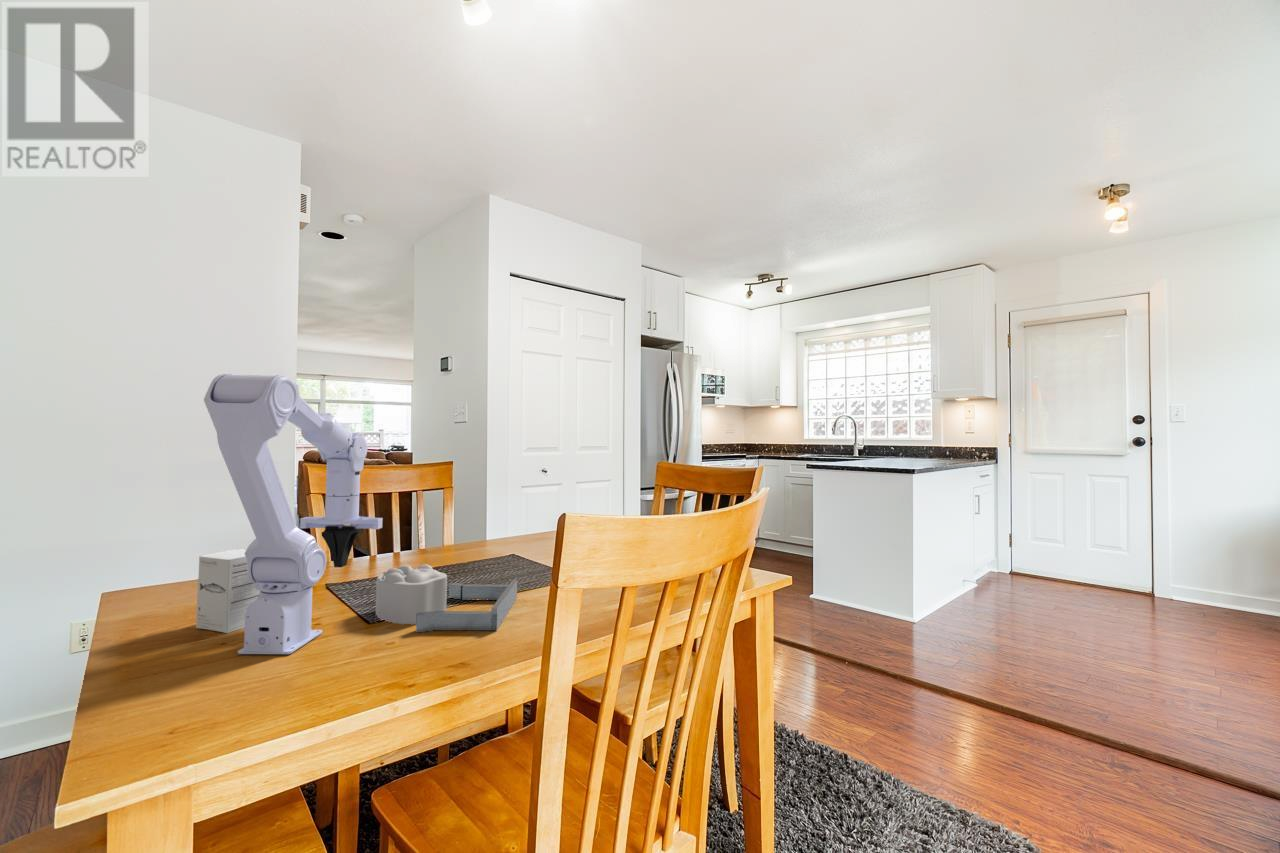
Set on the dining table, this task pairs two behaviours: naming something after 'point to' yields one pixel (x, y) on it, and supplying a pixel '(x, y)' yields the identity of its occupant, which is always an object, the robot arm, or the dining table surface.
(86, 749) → the dining table surface
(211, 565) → the supplement box
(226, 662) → the dining table surface
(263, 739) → the dining table surface
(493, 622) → the bracket
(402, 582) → the lumpy-topped squat cylinder
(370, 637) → the dining table surface
